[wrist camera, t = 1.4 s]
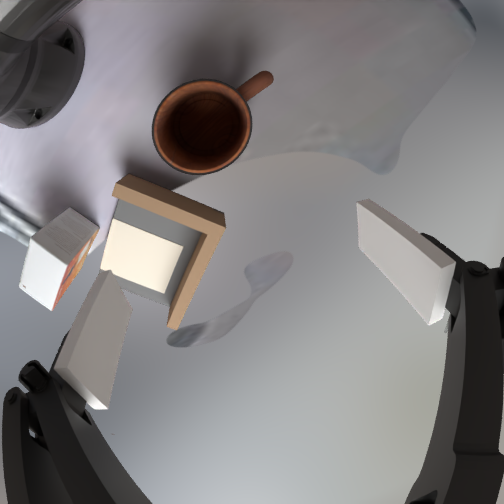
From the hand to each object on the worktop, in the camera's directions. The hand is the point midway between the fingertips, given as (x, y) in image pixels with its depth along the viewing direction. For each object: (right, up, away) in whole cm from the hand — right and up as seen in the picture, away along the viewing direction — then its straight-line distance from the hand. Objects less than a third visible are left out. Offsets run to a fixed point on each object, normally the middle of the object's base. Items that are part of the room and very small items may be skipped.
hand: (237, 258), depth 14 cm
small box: (-24, +2, +20) cm, 31 cm away
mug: (-3, +16, +16) cm, 23 cm away
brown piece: (-12, +1, +22) cm, 25 cm away
